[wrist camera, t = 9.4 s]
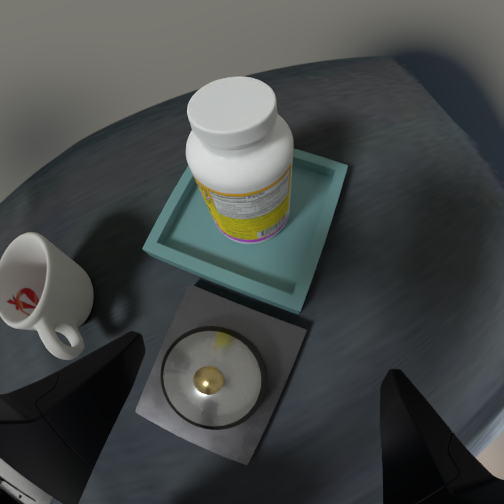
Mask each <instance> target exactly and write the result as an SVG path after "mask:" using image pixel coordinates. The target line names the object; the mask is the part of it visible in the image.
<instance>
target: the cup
mask: <svg viewBox="0 0 504 504" xmlns="http://www.w3.org/2000/svg"><path fill="white" fill-rule="evenodd" d="M93 298H94V293H93V286H92V283H91V280H90V278H89V276H88V275H87V273H86V272H85V271H84V270H83V269H82V268H81V267H80V266H79V265H78V264H77V263H75V262H74V261H73V260H72V259H70V258H69V257H68V256H66V255H65V254H64V253H63V252H62V251H60V250H59V249H58V248H57V247H55V246H54V245H53V244H52V243H51V242H49V241H48V240H47V239H46V238H45V237H43V236H42V235H40V234H38V233H34V232H29V233H25V234H22V235H20V236H19V237H17V238H16V239H15V240H14V241H13V242H12V243H11V244H10V245H9V246H8V248H7V249H6V251H5V252H4V254H3V256H2V258H1V260H0V316H1V318H2V319H3V320H4V321H5V323H7V324H8V325H9V326H11V327H13V328H16V329H26V330H37V331H38V333H39V335H40V337H41V340H42V341H43V343H44V345H45V347H46V348H47V349H48V350H49V351H50V352H51V353H52V354H53V355H54V356H56V357H58V358H60V359H65V360H70V359H74V358H76V357H78V356H79V355H80V354H81V353H82V352H83V350H84V342H83V339H82V336H81V334H80V332H79V330H78V327H79V326H81V325H82V324H83V323H84V322H85V320H86V319H87V318H88V316H89V314H90V312H91V309H92V305H93ZM55 331H57V332H60V333H62V334H63V335H65V336H66V337H67V339H68V340H69V341H70V343H71V346H72V347H69V346H67V345H65V344H64V343H62V342H61V340H60V339H59V338H58V336H57V335H56V332H55Z"/></svg>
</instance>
